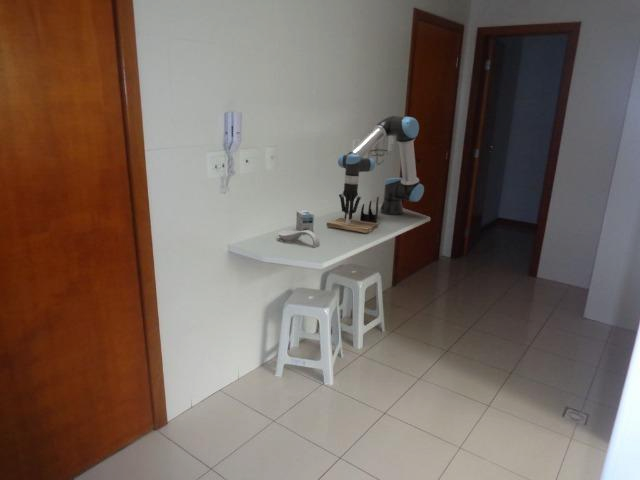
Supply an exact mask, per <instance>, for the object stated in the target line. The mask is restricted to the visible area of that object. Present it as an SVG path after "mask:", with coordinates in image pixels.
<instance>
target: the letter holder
mask: <svg viewBox="0 0 640 480" xmlns="http://www.w3.org/2000/svg"><path fill="white" fill-rule="evenodd" d="M379 198H380V197H379V196H377V197H376V201H375V203H376V204H375V214H373V211H372V200H370V201H369V204H368V212H367V213H364V209H365V204H364V203H363V204H362V206H361V211H360V218H359V221H366V222H372V223H378V217H379V216H378V215H379V214H378V213H379Z"/></svg>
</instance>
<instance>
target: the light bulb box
mask: <svg viewBox="0 0 640 480" xmlns="http://www.w3.org/2000/svg"><path fill="white" fill-rule="evenodd" d="M314 219H315V215H314V213H313V212H310V210H308V209H307V210H305V209H304V210H303V209H299V210H298V209H297V210H296V221H295V224H296V225H295V228H296V231H304V230H309V231H312V232H313V233H314V225H315V224H314V223H315V220H314Z"/></svg>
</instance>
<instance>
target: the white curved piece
mask: <svg viewBox="0 0 640 480" xmlns="http://www.w3.org/2000/svg"><path fill="white" fill-rule="evenodd" d="M305 234H306V235H308V236H309V237H310V238H311V239H312V247H313V248H317V247H319V246H320V245H321V244H320V240H319V237H318V236H317V234H315V232H314V231H313V232H312V231H309V230H304V231H298V230H282V231H279V232H278V233H277V236H278V238H280V239H281V240H282V241H284V240H285V242H288V241H290V243H291V241H293V242H296V241H297V240H298V239H300V238H301V237H302V235H305Z"/></svg>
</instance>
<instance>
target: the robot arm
mask: <svg viewBox="0 0 640 480" xmlns="http://www.w3.org/2000/svg"><path fill="white" fill-rule="evenodd" d="M419 130H420V125H419V122H418V120H417V119H416V118H414V117H411V116H400V115H391V116H387V117H385V118H383V119H382V120H381V121H379V122H378V123H376V124H375V126H374V127H373V130H371V132H370V133H368V134H367V135H366V136H365V137H364V138H363V139H362V140H361V141H360V142H359V143H358V144H356V146H355V147H353V148H352V149H351V150H350V151H349V152H348V153H347V154H341V155H339V157H338V159H337V163H338V166H339V167H340V168H343V169H345V173H344V174H345V175H344V183H343V185H344V186H343V191H342V193H341V194H338V197H339V199H340V205H341V212H343V213H344V218H345V219H346V225H350V220H351V219H353V214H355V213H356V212H357V209H358V207H359V203H360V201H361V199H362V196H360V195H359V194H358V188H359V176H360V173H364V172H365V173H369V172H372V171H373V170H374V169H375V167H376V163H375V160H374V159H373V158H370V157H365V156H366V155H367V154H368V152H371V150H372V149H373V148H374V147H375V146H377V144H378V143H379V142H380V141H382V140H384V139H386V138H387V137H389V136H393V137H395V141H396V142H397V143H398V145H399V155H400V166H401V175H402V177H389V178H386V179H385V183H384V195H383V202H382V204H381V206H380V210H379V212H380V213H381V214H385V215H389V216H390V215H391V216H400V215H403V214H404V207H403V203H402V200H404V201H408V202H414V203H415V202H416V203H417V202H419V201H420V200H421V199H422V197H423V196H424V193H425V186H424V185H423V184H421V183H420V179H419V177H417V169H416V155H415V146H414V145H415V144H414V143H415V142H414V141H415V140H416V137H418V134H419V132H420V131H419ZM354 201H355V202H354Z"/></svg>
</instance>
